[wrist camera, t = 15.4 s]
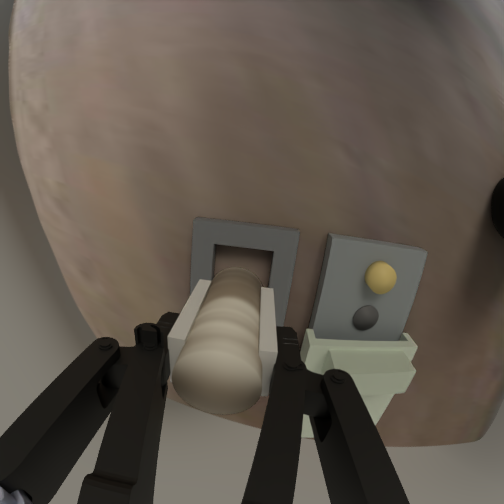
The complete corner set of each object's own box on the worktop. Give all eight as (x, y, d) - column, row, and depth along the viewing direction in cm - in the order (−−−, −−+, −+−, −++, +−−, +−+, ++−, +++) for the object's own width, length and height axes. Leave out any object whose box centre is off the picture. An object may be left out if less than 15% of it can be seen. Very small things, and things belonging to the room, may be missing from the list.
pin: (213, 262, 18) (172, 342, 9) (268, 272, 18) (271, 361, 9) (207, 310, 19) (171, 404, 10) (257, 319, 19) (252, 419, 10)
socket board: (197, 216, 22) (193, 219, 20) (297, 228, 22) (300, 232, 20) (192, 358, 26) (189, 365, 24) (272, 368, 26) (272, 376, 24)
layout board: (328, 233, 21) (336, 241, 19) (419, 247, 21) (434, 256, 19) (301, 355, 25) (304, 373, 22) (383, 357, 25) (391, 373, 22)
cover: (306, 328, 22) (315, 369, 17) (407, 333, 22) (432, 366, 17) (280, 420, 26) (281, 459, 21) (364, 419, 26) (375, 453, 21)
